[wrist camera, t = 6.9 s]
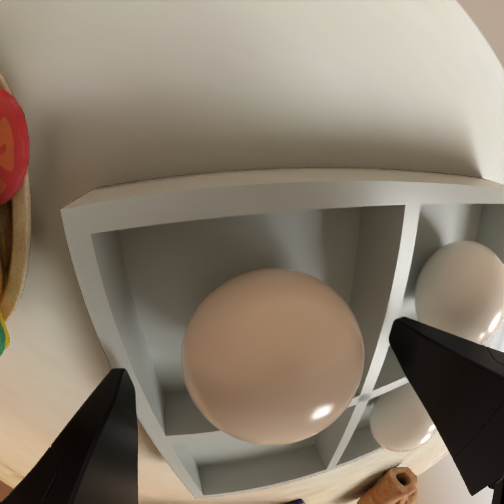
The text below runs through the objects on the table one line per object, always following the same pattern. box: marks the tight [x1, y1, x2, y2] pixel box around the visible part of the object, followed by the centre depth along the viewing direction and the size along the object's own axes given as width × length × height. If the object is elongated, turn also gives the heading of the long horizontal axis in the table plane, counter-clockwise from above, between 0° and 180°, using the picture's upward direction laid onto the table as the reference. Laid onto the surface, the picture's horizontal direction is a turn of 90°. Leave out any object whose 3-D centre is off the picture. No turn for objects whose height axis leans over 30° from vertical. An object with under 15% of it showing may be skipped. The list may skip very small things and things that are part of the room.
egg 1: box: [370, 382, 437, 452], centre depth 13 cm, size 5×5×5 cm
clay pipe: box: [357, 467, 418, 504], centre depth 31 cm, size 19×11×15 cm
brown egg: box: [181, 268, 364, 445], centre depth 8 cm, size 5×5×5 cm
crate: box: [60, 167, 504, 498], centre depth 12 cm, size 19×19×3 cm
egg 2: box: [414, 240, 504, 345], centre depth 10 cm, size 5×5×5 cm
